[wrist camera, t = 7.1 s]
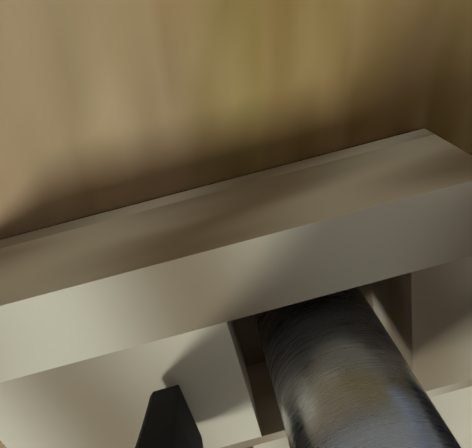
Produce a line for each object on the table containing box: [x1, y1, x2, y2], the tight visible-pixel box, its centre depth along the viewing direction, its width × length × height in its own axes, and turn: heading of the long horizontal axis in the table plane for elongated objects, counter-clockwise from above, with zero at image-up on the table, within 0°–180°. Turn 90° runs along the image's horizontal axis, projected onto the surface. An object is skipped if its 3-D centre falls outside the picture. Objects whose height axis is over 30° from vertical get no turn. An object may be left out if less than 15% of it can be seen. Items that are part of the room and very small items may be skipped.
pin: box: [254, 287, 461, 448], centre depth 9 cm, size 3×3×8 cm
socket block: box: [0, 128, 472, 448], centre depth 13 cm, size 12×12×3 cm
